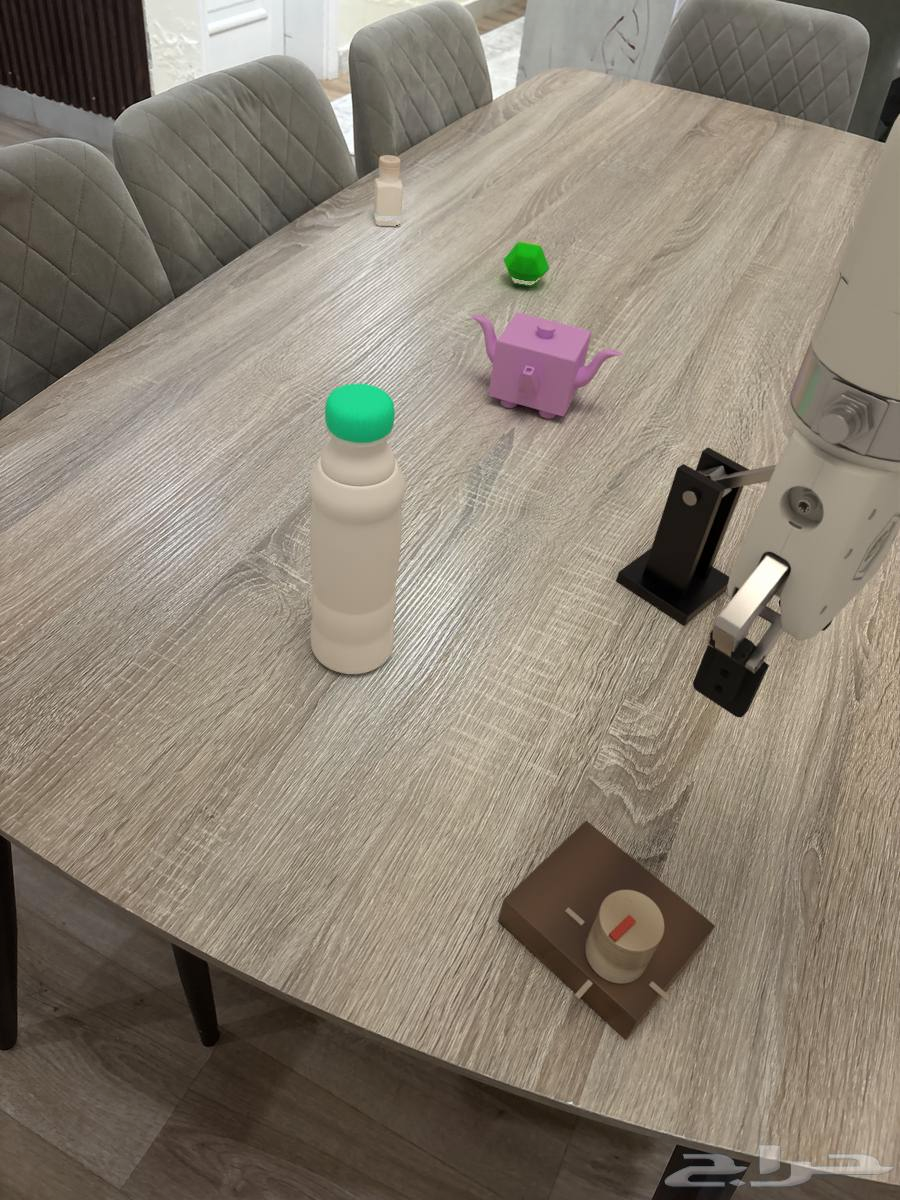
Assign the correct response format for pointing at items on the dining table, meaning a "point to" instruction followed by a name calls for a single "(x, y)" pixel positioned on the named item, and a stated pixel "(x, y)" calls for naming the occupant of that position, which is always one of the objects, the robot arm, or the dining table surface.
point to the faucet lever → (738, 476)
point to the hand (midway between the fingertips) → (762, 656)
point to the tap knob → (624, 936)
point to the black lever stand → (687, 543)
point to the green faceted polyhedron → (526, 262)
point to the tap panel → (568, 910)
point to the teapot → (539, 363)
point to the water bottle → (355, 532)
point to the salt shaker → (388, 189)
